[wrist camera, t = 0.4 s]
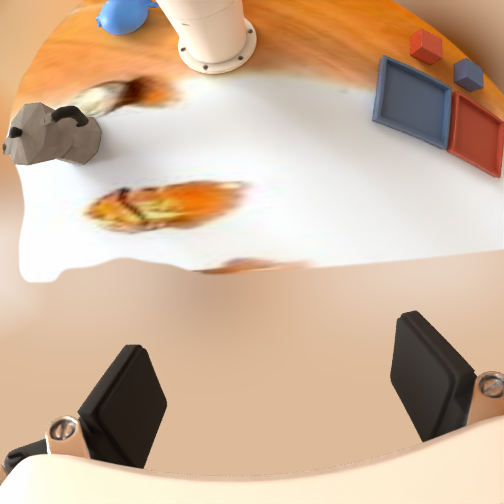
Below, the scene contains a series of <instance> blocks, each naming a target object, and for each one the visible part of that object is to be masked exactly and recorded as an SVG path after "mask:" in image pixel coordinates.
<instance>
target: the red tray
mask: <svg viewBox="0 0 504 504" xmlns="http://www.w3.org/2000/svg"><path fill="white" fill-rule="evenodd" d="M503 144H504V122H503V121H502V120H501V119H499V118H498V117H496V116H495V115H494V114H492V113H491V112H489V111H488V110H487V109H485V108H484V107H482V106H481V105H479V104H478V103H476V102H475V101H473V100H471V99H470V98H468V97H467V96H465V95H463V94H462V93H460V92H458V91H455V92H452V95H451V113H450V125H449V136H448V144H447V152H449V153H451V154H453V155H455V156H457V157H459V158H461V159H463V160H465V161H467V162H468V163H470V164H472V165H474V166H476V167H478V168H479V169H481V170H483V171H485V172H486V173H488V174H490V175H491V176H493V177H498V178H500V175H501V167H502V157H503Z"/></svg>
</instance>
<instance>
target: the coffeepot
mask: <svg viewBox="0 0 504 504" xmlns="http://www.w3.org/2000/svg"><path fill="white" fill-rule="evenodd" d="M100 138H101V130H100V128H99V126H98V124H97V122H96V121H95V119H94V118H93V117H86V116H85V115H84V114H83V113H82V112H81V111H80V110H79V109H78V108H77V107H75V106H66V107H60V108H58V109H57V110H56V111H55V110H54V109H52V108H50V107H48V106H46V105H44V104H42V103H41V102H40V103H31V104H25V105H24V106H23V107H22V109H21V110H20V111H19V113H18V114H17V115H16V117H15V118H14V119H13V121H12V122H11V127H10V133H9V136H8V137H7V139H6V140H5V142H4V144H3V154H4V155H7V154H10V155H11V158H12V161H13V163H14V164H18V165H32V164H36V163H40V162H44V161H49V160H53V159H58V160H61V161H65V162H68V163H74V164H83V165H84V164H85V163H86V162H87V161H89V160H90V159H91V158H92V157H93V156H94V155H95V153H96V152H97V151H98V147H99V144H100Z"/></svg>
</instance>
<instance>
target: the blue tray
mask: <svg viewBox="0 0 504 504" xmlns="http://www.w3.org/2000/svg"><path fill="white" fill-rule="evenodd" d="M451 95H452V88H451V87H450V86H448V85H446V84H444V83H443V82H441V81H439V80H437V79H435V78H433V77H431V76H429V75H427V74H425V73H423V72H421V71H419V70H417V69H415V68H413V67H411V66H408V65H406V64H404V63H402V62H399V61H397V60H395V59H392V58H390V57H387V56H385V55H384V56H383V57H382V58H381V59H380V64H379V73H378V82H377V90H376V98H375V105H374V112H373V118H372V121H375V122H377V123H380V124H383V125H386V126H388V127H391V128H394V129H396V130H399V131H401V132H404V133H406V134H409V135H411V136H413V137H416V138H418V139H420V140H423V141H425V142H427V143H430V144H432V145H434V146H436V147H438V148H440V149H444V148H447V144H448V136H449V125H450V113H451Z"/></svg>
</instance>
